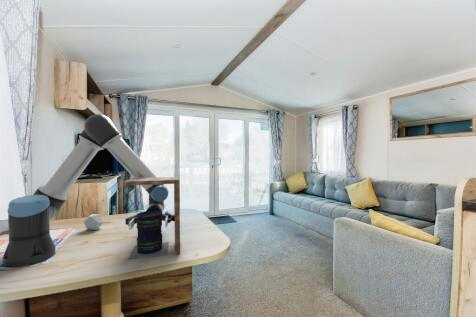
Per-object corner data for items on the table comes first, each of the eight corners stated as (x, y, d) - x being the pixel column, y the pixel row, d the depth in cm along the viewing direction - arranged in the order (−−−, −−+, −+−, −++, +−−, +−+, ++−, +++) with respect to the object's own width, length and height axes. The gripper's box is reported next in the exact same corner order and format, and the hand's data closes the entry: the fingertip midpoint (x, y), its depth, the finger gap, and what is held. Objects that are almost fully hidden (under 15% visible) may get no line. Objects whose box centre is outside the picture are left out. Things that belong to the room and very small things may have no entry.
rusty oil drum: (132, 255, 89) (132, 216, 89) (141, 245, 99) (141, 210, 98) (158, 254, 89) (158, 216, 89) (165, 244, 99) (164, 210, 99)
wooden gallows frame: (125, 260, 85) (124, 181, 85) (132, 246, 99) (131, 178, 98) (180, 254, 90) (179, 179, 90) (180, 241, 104) (179, 176, 103)
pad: (128, 259, 86) (128, 258, 86) (134, 246, 98) (134, 245, 98) (167, 255, 89) (166, 254, 89) (168, 242, 102) (168, 242, 102)
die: (86, 228, 125) (78, 217, 119) (102, 218, 130) (94, 207, 124) (92, 237, 121) (84, 226, 115) (108, 226, 126) (101, 215, 120)
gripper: (180, 218, 114) (180, 231, 94) (126, 222, 108) (114, 237, 88) (180, 203, 114) (180, 213, 94) (126, 206, 108) (113, 218, 87)
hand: (148, 225), depth 91 cm, fingers open, 13 cm apart
